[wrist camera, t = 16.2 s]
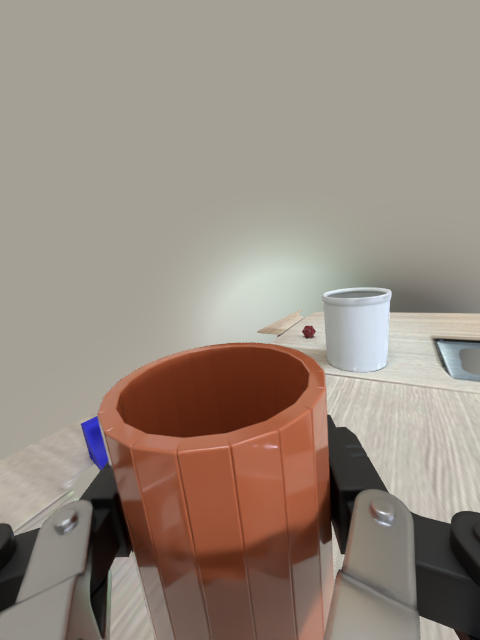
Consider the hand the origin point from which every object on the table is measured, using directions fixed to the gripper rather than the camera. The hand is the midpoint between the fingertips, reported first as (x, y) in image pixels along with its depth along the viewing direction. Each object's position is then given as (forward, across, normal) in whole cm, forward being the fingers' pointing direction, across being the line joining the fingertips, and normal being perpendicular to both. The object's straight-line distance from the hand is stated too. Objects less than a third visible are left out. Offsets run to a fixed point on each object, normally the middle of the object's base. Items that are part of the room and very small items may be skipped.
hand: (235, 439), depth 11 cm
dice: (+75, -17, +20) cm, 80 cm away
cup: (-2, 0, +6) cm, 6 cm away
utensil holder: (+53, -24, +20) cm, 61 cm away
